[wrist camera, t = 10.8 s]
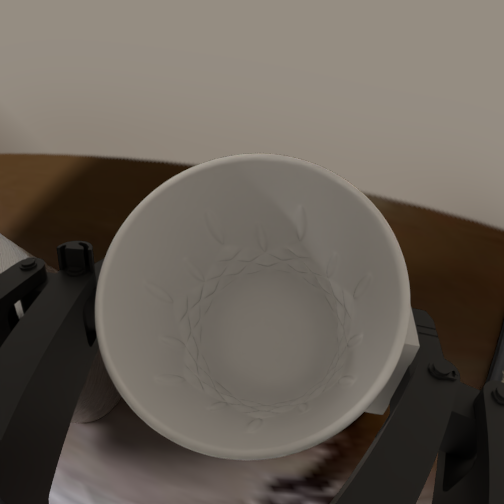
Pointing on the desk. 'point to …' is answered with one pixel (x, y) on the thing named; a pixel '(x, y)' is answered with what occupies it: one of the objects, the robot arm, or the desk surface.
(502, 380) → the usb stick
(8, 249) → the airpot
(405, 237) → the desk surface
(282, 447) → the white cup
